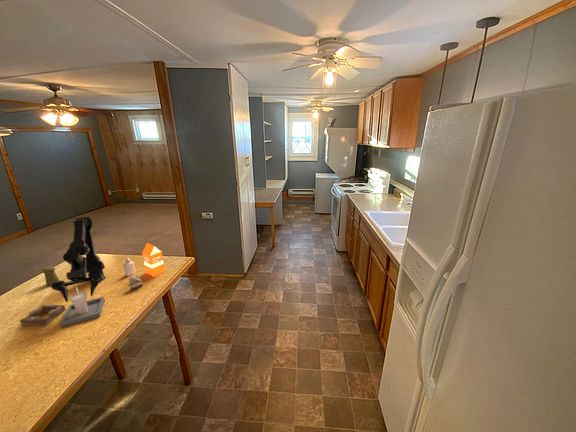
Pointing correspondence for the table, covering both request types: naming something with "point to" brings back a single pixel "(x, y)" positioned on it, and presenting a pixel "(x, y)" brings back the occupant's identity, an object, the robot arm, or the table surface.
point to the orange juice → (153, 260)
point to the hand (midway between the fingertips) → (79, 298)
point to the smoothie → (79, 301)
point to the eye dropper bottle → (129, 267)
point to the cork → (50, 275)
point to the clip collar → (52, 309)
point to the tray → (93, 312)
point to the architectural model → (134, 282)
